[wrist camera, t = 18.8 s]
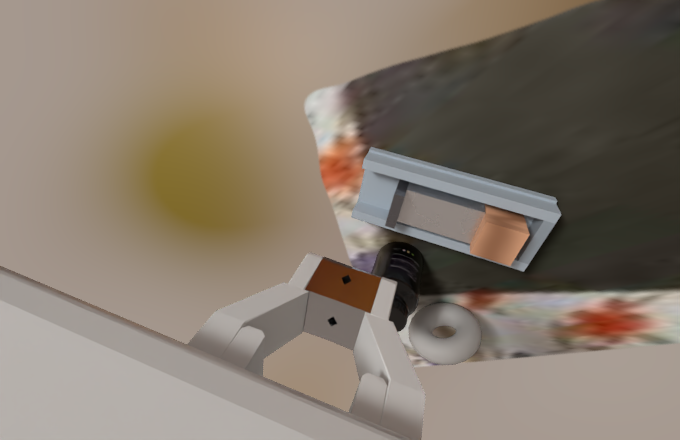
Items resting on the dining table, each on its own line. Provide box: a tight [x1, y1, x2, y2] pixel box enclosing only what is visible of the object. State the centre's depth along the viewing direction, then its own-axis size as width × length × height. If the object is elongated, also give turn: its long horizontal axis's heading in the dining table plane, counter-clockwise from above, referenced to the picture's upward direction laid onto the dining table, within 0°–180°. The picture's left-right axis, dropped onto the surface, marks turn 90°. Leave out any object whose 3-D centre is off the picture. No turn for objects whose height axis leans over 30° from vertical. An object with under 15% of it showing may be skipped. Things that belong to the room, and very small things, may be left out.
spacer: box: [470, 204, 530, 266], centre depth 38 cm, size 4×4×5 cm
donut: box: [409, 303, 482, 365], centre depth 46 cm, size 10×4×10 cm, turn 106°
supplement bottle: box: [371, 242, 423, 332], centre depth 43 cm, size 7×7×12 cm
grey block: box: [385, 179, 486, 244], centre depth 39 cm, size 10×4×5 cm, turn 80°
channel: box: [351, 147, 561, 272], centre depth 40 cm, size 22×9×4 cm, turn 80°
